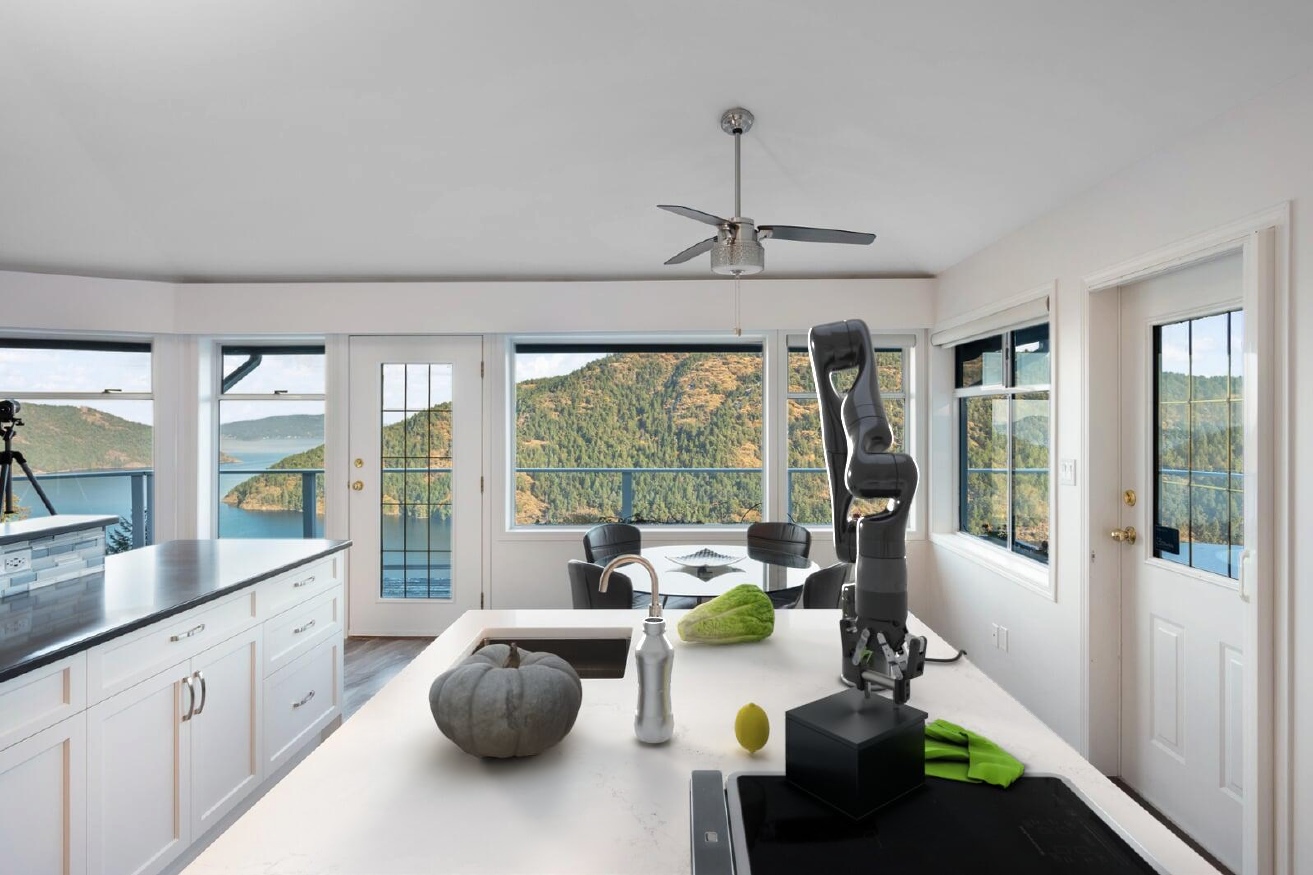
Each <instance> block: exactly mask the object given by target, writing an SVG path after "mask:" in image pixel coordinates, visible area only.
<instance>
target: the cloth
mask: <svg viewBox="0 0 1313 875" xmlns="http://www.w3.org/2000/svg"><path fill="white" fill-rule="evenodd" d="M1025 768H1026V766H1025V765H1024V764H1023V763H1022V762H1020V761H1018V760H1017V759H1015V757H1014V756H1013V755H1011V754H1009V753H1007V752H1006V751H1005V750H1003V749H1002V748H1001V747H1000V746H999V745H998V744H996V743H994V741H991V740H990V739H989V738H987V737H984V736H981V735H979V734H977V733H975V732H973V731H971V730H968V729H965V728H964V727H962V726H961V725H958V724H956V723H952V722H949V721H947V720H945V719H941V718H937V719H935V720H934V722H933V723H930V724H929V725H927V724H925V776H931V777H936V778H942V779H947V780H955V781H960V782H966V783H972V784H973V783H974V784H981V783H983V782H986V783H987V784H991V785H994V786H995V785H996V786H997V785H998V786H999V787H1001V788H1003V789H1007V788H1008V787H1009V786H1010V785H1011V784H1013V783H1015V781H1017V779H1019V778H1021V777H1023V775H1024V771H1025V770H1024V769H1025Z"/></svg>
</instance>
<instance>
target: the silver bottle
mask: <svg viewBox="0 0 1313 875" xmlns="http://www.w3.org/2000/svg"><path fill="white" fill-rule="evenodd" d="M642 632H643V633H644V634H643V635H642V637H641V639H640V640H639V641H638V643H637V644H636V647H635V650H634V657H635V665H636V672H637V689H638V690H637V701H636V702H637V703H636V710H635V715H634V722H633V727H634V728H633V729H634V733H635V736H636V737H637V739H638V740H639V741H641V742H643V743H647V744H660V743H664V742H666V741H667V742H668V740H670V738H671V736H672V735H673V732H674V728H675V719H674V713H673V709H672V708H673V707H672V695H671V694H672V693H671V688H672V687H671V686H672V685H671V683H672V672H673V665H674V658H675V648H674V646H673V644H672V642H671V641H670V640H669V638H668V637H667V636H666V634H665V633H666V632H667V627H666V619H665V618H663V617H656V616H655V617H654V616H651V617H646V618H644V619H643V621H642Z"/></svg>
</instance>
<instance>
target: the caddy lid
mask: <svg viewBox="0 0 1313 875" xmlns="http://www.w3.org/2000/svg"><path fill="white" fill-rule="evenodd" d="M861 678H862V680H864V690H863V691H861V690H858V689H857V686H855V687H849V688H846V689H844V690H842V691H839V692H835V693H833V694H830V695H828V696H824V697H821V698H818V699H815V700H813V701H809V702H808V703H805V704H801V705H799V706H796V707H793V708H791V709H787V710H785V712H784V718H785V717H787V718H789V719H791V720H794V721H796V722H798V723H800V724H802V725H804V726H806V727H809V728H811V729H813V730H815V731H817V732H819V733H822V734H824V735H826V736H828V737H830V738H832V739H835V740H837V741H839V742H841V743H843V744H845V745H848V746H850V747H852V748H854V749H856V750H858V749H860V748H862V747H865V746H867V745H869V744H871V743H874V742H876V741H878V740H880V739H883V738H885V737H887V736H889V735H892V734H894V733H896V732H898V731H900V730H903V729H905V728H907V727H909V726H912V725H914V724H916V723H918V722H921V721H923V720H925V721H926V720H927V719H929V712H927V711H925V710H923V709H919V708H916V707H914V706H911V705H908V704H906V703H904V704H902V705H899V704H896V703H895V689H894V679H896V677H892V676H891V677H890V676H887V675H884V674H881V673H878V672H875V671H872V670H869V669H864V670H863V671H862V673H861ZM871 683H872V684H875V685H878V686H881V687H884V689H886V690H890V691H892V698H890V697H887V696H884V695H881V694H878V693H876V692H873V691H872V690H871Z"/></svg>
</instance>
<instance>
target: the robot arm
mask: <svg viewBox="0 0 1313 875" xmlns="http://www.w3.org/2000/svg"><path fill="white" fill-rule="evenodd" d="M807 336H808V337H807V345H808V354H809V359H810V364H811V370H812V374H813V380H814V385H815V390H816V395H817V400H818V406H819V414H820V424H821V435H822V446H823V454H824V462H825V466H826V474H827V480H828V486H829V493H830V501H831V502H830V503H831V517H832V518H831V519H832V520H831V521H832V537H833V538H832V539H833V547H834V553H835V556H836V558H837V560H838V562H840V563H841V564H845V565H851V566H855V567H854V579H851V580H848V581H846V582H844V583H843V584H842V587H841V619H840V620H839V631H840V632H839V633H840V640H841V681H842V682H843V683H844V684H845V685H846V686H849V687H850V688H852V687H855V686H857V689H858V690H861V691H863V690H864V680H862V678H861V673H862V671H863V670H864V669H869V670H872V671H875V672H878V673H881V674H884V675H887V676H890V677H892V671H893V674H894V676H895V677H894V678H896V679H894V689H895V703H896V704H899V705H902V704H906V703H907V702H908V701H909V700H910V699H911V680H914V679H916V678H919V677H922V676H923V675H924V670H925V662H929V663H941V664H943V663H954V662H957V661H958V660H960V659H961V657H962V655H964V656H967V655H968V653H967V650H965V649H964V648H961V649H960V650H959V651H958V653H957V655H956V656H955V657H952V658H932V657H926V655H927V649H928V648H927V647H928V638H927V637H926V636H925V635H920V636H917V635H915V634H912V633H910V631H909V629H908V626H907V620H908V616H909V579H908V578H909V571H908V565H907V564H908V563H907V526H908V521H909V518H910V513H911V509H912V505H913V501H914V498H915V495H916V494H917V489H918V486H919V485H918V484H919V480H920V470H919V467H918V464H917V462H916V460H915V459H914V458H913V456H911V455H910V454H908V453H906V452H899V451H898V452H894V451H893V452H887V451H889V449H891V447H892V445H893V443H894V434H893V430H892V426H891V424H890V420H889V417H888V414H887V411H886V408H885V405H884V401H883V396H882V390H881V383H880V375H879V370H878V369H879V368H878V362H877V359H876V358H877V357H876V352H875V346H874V342H873V337H872V334H871V331H870V328H869V326H868V324H867V322H866V321H864V320H863V319H861V318H851V319H845V320H839V321H838V320H837V321H832V322H828V323H822V324H818V325H814V326H812V327H811V328H810V329H809V331H808V335H807ZM854 370H857V374H856V377H855V379H854V380H853V382H852V384H851V385H850V387H849V388H848V391H847V392H846V394H845V396H844V398H843V397H842V394H840V392H839V391H838V389H837V388H836V385H835V384H834V382H833V380H832V374H837V373H843V372H848V371H854ZM856 499H859V500H860V499H861V500H889V501H888V502H887V504H886V506H885V507H884V509H882V510H881V511H878V512H875V513H870V514H866V515H863V516H861V517H860V518H858V519H853V518H852V515H851V514H852V512H851V511H852V506H853V504H854V502H855V500H856ZM905 643H906V648H905V645H904V644H905ZM906 649H907V650H908V652H907V650H906ZM883 689H885V688H884V687H881V686H878V685H875V684H872V683H871V691H878V690H883Z"/></svg>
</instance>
